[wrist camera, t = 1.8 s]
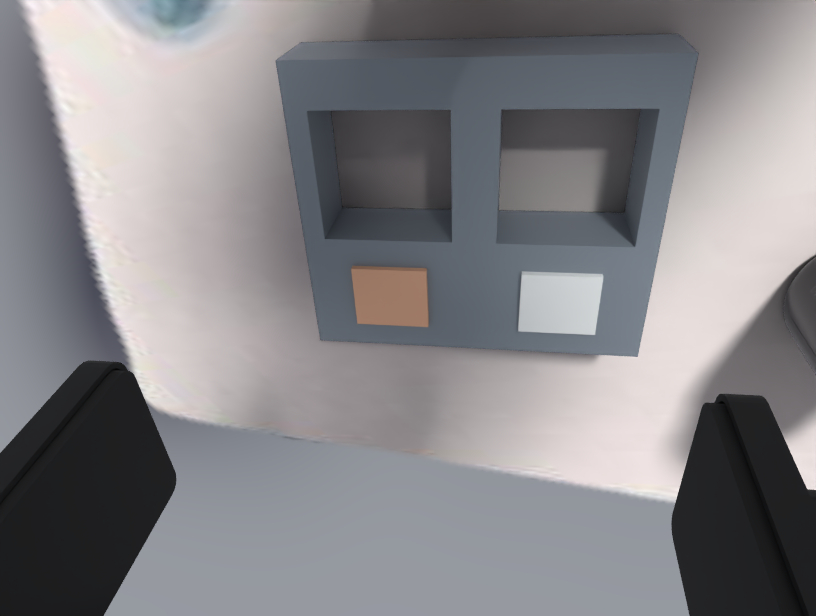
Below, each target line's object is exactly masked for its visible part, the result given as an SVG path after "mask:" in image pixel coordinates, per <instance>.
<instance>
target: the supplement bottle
mask: <svg viewBox="0 0 816 616" xmlns="http://www.w3.org/2000/svg"><path fill="white" fill-rule="evenodd" d="M783 311H784V319H785V323H786V326H787V328H788V330H789V332H790V334H791V335H792V337H793V339H794V340H795V342H796V344H797V346H798V347H799V349H800V350H801V352H802V354H803V355H804V357H805V358H806V360H807V362H808V363H809V365H810V367H811V368H812V370H813V371H814V373H815V375H816V257H815V258H814V259H812V260H811V261H810V262H809V263H807V264H806V265H805V266H804V267H803V268H802V269H801V270H800V271H799V273H798V274H797V275H796V276H795V278H794V279H793V281H792V282H791V284H790V286H789V288H788V290H787V293H786V296H785V300H784V307H783Z"/></svg>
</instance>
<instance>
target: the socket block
mask: <svg viewBox="0 0 816 616" xmlns="http://www.w3.org/2000/svg"><path fill="white" fill-rule="evenodd" d="M697 58H698V52H697V51H696V50H695V49H694V48H693V47H692V46H691V45H690V44H689V43H688V42H687V41H686V40H685V39H684V38H682V37H681V36H680V35H679V34H643V35H600V36H557V37H513V38H470V39H426V40H383V41H340V42H301V43H299V44H298V45H297V46H295V47H294V48H292V49H291V50H290V51H288V52H287V53H285V54H284V55H283V56H281V57H280V58H278V59H277V60H276V66H277V72H278V79H279V85H280V91H281V97H282V104H283V110H284V116H285V122H286V128H287V135H288V141H289V147H290V153H291V160H292V166H293V172H294V178H295V185H296V191H297V197H298V203H299V209H300V216H301V222H302V228H303V234H304V241H305V247H306V253H307V259H308V265H309V272H310V278H311V284H312V290H313V297H314V303H315V309H316V315H317V322H318V328H319V334H320V340H328V341H347V342H366V343H385V344H404V345H423V346H442V347H461V348H480V349H500V350H519V351H538V352H557V353H576V354H595V355H614V356H633V357H638V352H639V347H640V342H641V337H642V332H643V327H644V322H645V317H646V312H647V307H648V302H649V297H650V292H651V287H652V282H653V277H654V272H655V267H656V262H657V257H658V252H659V247H660V242H661V237H662V232H663V227H664V223H665V218H666V213H667V208H668V203H669V198H670V193H671V188H672V183H673V178H674V173H675V168H676V163H677V158H678V153H679V148H680V143H681V138H682V133H683V128H684V123H685V118H686V113H687V108H688V103H689V98H690V93H691V88H692V83H693V78H694V73H695V68H696V63H697ZM514 109H641V111H640V118H639V124H638V130H637V136H636V143H635V149H634V155H633V162H632V168H631V174H630V180H629V187H628V193H627V199H626V205H625V212H624V213H611V212H558V211H504V210H499V187H500V158H501V130H502V110H514ZM338 110H451V191H452V210H451V209H398V208H344V207H342V201H341V193H340V185H339V176H338V168H337V159H336V151H335V142H334V134H333V125H332V117H331V111H338Z"/></svg>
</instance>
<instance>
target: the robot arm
mask: <svg viewBox="0 0 816 616" xmlns="http://www.w3.org/2000/svg"><path fill="white" fill-rule="evenodd" d="M175 485H176V473H175V470H174V468H173V465H172V463H171V461H170V458H169V456H168V454H167V451H166V449H165V447H164V444H163V442H162V439H161V437H160V435H159V432H158V430H157V427H156V425H155V423H154V420H153V418H152V416H151V413H150V411H149V409H148V406H147V404H146V401H145V399H144V397H143V394H142V392H141V390H140V387H139V385H138V382H137V380H136V378H135V376H134V374H133V373H132V372H130V371H128V370H127V368H126V367H125V365H123V364H122V363H119V362H106V361H86V362H83V363H82V364H81V365H80V366H79V367H78V368H77V369H76V370H75V371H74V372H73V373H72V374H71V375H70V376H69V378H68V379H67V380H66V381H65V382H64V383H63V384H62V385H61V386H60V388H59V389H58V390H57V391H56V392H55V393H54V394H53V395H52V396H51V398H50V399H49V400H48V401H47V402H46V403H45V404H44V405H43V407H41V409H40V410H39V411H38V412H37V413H36V414H35V415H34V416H33V418H32V419H31V420H30V421H29V422H28V423H27V424H26V425H25V426H24V428H23V429H22V430H21V431H20V432H19V433H18V434H17V435H16V436H15V437H14V439H13V440H12V441H11V442H10V443H9V444H8V445H7V446H6V448H5V449H4V450H3V451H2V452H1V453H0V616H104V614H105V612H106V610H107V609H108V607H109V605H110V603H111V601H112V600H113V598H114V596H115V594H116V593H117V591H118V589H119V587H120V586H121V584H122V582H123V580H124V579H125V577H126V575H127V573H128V571H129V570H130V568H131V566H132V564H133V563H134V561H135V559H136V557H137V556H138V554H139V552H140V550H141V549H142V547H143V545H144V543H145V542H146V540H147V538H148V536H149V534H150V533H151V531H152V529H153V527H154V526H155V524H156V522H157V520H158V519H159V517H160V515H161V513H162V511H163V510H164V508H165V506H166V505H167V503H168V501H169V499H170V497H171V496H172V494H173V491H174V489H175ZM672 535H673V541H674V546H675V550H676V555H677V560H678V564H679V569H680V574H681V578H682V583H683V587H684V592H685V596H686V601H687V606H688V610H689V615H690V616H816V490H808V489H807V488H806V486H805V484H804V482H803V479H802V477H801V475H800V473H799V470H798V468H797V466H796V464H795V462H794V459H793V457H792V455H791V453H790V451H789V448H788V446H787V444H786V442H785V439H784V437H783V435H782V433H781V431H780V428H779V426H778V424H777V422H776V420H775V417H774V415H773V413H772V411H771V409H770V406H769V404H768V402H767V401H766V399H765V398H764V397H762V396H754V395H735V394H719V396H718V397H717V398H716V401H715V403H705V404H704V405H703V407H702V410H701V413H700V417H699V420H698V424H697V428H696V431H695V435H694V438H693V442H692V446H691V449H690V453H689V456H688V460H687V464H686V467H685V471H684V474H683V478H682V482H681V485H680V489H679V492H678V496H677V500H676V503H675V507H674V511H673V515H672Z"/></svg>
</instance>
